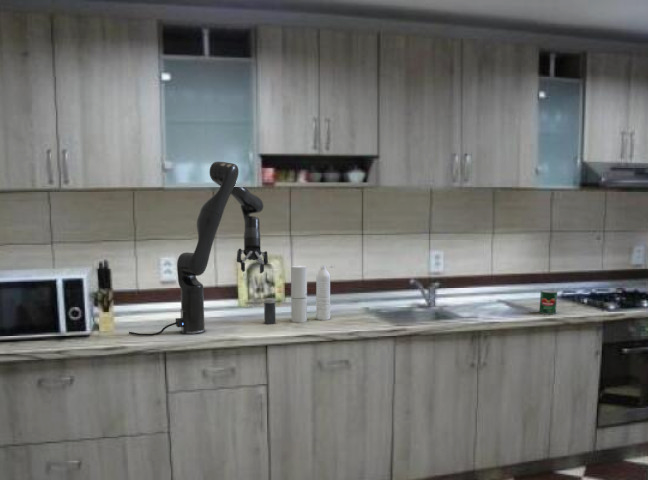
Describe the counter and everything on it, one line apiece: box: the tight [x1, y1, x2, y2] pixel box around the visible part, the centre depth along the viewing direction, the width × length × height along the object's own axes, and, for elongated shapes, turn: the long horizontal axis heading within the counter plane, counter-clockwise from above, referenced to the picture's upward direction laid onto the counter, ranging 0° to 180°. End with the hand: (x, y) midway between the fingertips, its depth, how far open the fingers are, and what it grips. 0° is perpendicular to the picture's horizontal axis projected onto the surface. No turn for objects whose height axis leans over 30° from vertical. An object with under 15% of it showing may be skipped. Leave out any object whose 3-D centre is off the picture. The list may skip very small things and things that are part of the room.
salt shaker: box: [263, 297, 276, 325], centre depth 277 cm, size 5×5×11 cm
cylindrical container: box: [290, 265, 308, 323], centre depth 282 cm, size 7×7×25 cm
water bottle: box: [315, 264, 335, 321], centre depth 287 cm, size 9×6×25 cm
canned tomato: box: [538, 289, 558, 315], centre depth 306 cm, size 8×8×11 cm
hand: (252, 272), depth 285 cm, fingers open, 8 cm apart
